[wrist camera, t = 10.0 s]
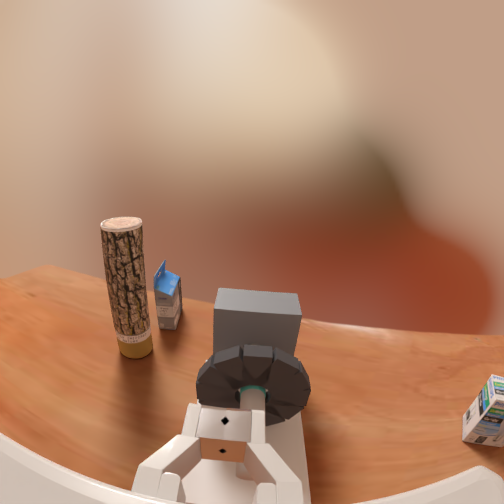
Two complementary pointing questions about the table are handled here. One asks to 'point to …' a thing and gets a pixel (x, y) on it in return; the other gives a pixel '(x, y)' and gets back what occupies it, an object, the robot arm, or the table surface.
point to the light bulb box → (486, 415)
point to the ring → (255, 380)
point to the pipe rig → (252, 393)
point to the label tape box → (167, 298)
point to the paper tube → (127, 284)
